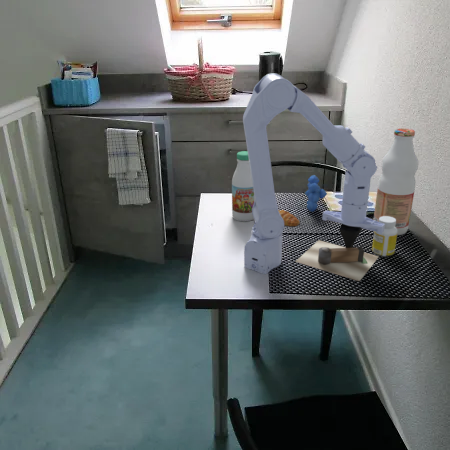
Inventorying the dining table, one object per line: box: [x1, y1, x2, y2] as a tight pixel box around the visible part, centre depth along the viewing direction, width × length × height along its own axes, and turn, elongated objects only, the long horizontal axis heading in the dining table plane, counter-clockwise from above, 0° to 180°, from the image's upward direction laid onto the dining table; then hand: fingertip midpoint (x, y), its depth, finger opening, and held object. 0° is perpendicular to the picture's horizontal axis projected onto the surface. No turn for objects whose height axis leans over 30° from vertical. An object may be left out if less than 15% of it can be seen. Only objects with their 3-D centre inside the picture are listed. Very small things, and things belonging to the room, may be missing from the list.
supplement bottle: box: [371, 216, 398, 257], centre depth 109 cm, size 5×5×10 cm
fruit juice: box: [372, 127, 419, 236], centre depth 118 cm, size 9×9×28 cm
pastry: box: [278, 209, 301, 227], centre depth 128 cm, size 9×7×4 cm
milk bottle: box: [231, 150, 255, 222], centre depth 130 cm, size 8×8×20 cm
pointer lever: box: [318, 246, 365, 264], centre depth 106 cm, size 11×3×3 cm, turn 92°
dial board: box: [295, 239, 380, 282], centre depth 108 cm, size 14×16×1 cm
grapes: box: [304, 174, 328, 213], centre depth 134 cm, size 12×7×12 cm, turn 172°
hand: (349, 252), depth 108 cm, fingers closed
